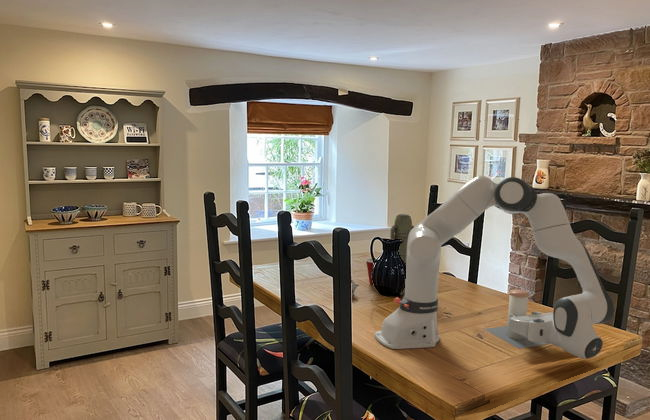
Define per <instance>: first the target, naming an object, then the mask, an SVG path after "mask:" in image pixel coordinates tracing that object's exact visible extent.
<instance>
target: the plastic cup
mask: <svg viewBox="0 0 650 420" xmlns="http://www.w3.org/2000/svg"><path fill="white" fill-rule="evenodd" d="M372 258H373V257H371V258H366V259H365V262H366V267H367V276H368V282H369V285H370V286H373V282H372V278H371V272H372V267H373V260H372Z"/></svg>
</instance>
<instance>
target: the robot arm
mask: <svg viewBox="0 0 650 420" xmlns="http://www.w3.org/2000/svg"><path fill="white" fill-rule="evenodd" d="M491 207H495V208H497V209H499V210H501V211H503V212H504V213H507V214H510V215H520V214H523V215H524V216H526V217H527V219H528V221H529V224H530V228H531V233H532V236H533V239H534V242H535V245H536V246H537V249H538V250H539V251H540V252H541V253H543V254H545V255H546V256H548V257H551V258H556V259H560V260H562V261H564V262H567V263H568V265H570V266H571V267H572V269H573V271H574V273H575V275H576V277H577V279H578V282H579V284H580V286H581V289H582V293H579V294H578V293H577V294H573V295H569V296H564V297H560V298H559V299H557V300H556V301H555V303H554V306H553V310H552V312H551V311H550V312H545V313H544V312H540V311H539V312H538V311H531V312H530V315H529V314H527V316H519V317H516V316H517V315H515V314H510V315H509V319H510V322H509V327H510V329H511V330H513V331H514V332H516V333H518V334H520V335H522V336H524V337H528V340H529V341H532V342H544V343H548V344H547V345H553V346H554V347H558V348H561V349H562V350H563V351H564V352H567V353H568V354H571V355H573V356H575V357H577V358H580V359H585V360H586V359H587V360H589V359H591V358H595V357H596V356H597V355H599V353H600V352H601V351H602V348H603V346H604V341H603V339H602V338H601V337H600V336H599V334H597V332H596V330H595V329H594V327H593V326H594V325H599V324H606V323H608V322H610V321H611V320H612V319H613V317H614V313H615V305H614V301H613V299H612V297H611V296H610V294H609V293H608V291H607V290H606V288H605V286H604V285H603V284H604V283H603V282H602V280H601V277H600V275H599V273H598V270H597V268H596V266H595V263H594V262H593V259H592V257H591V255H590V252H589V251H588V249H587V247H586V246H585V244H584V243H582V242H581V241H580V240H579V239H578V238H577V236H576V235H575V233H574V231H573V229H572V227H571V223H570V220H569V217H568V214H567V211H566V209H565V207H564V205H563V203H562V201H561V200H560V197H559V196H558V195H556V194H555V193H550V192H543V193H538V192H537V191H536V190H535V189H534V188H533V187H531V186H530V185H529V184H528V182H526V181H525V180H524V179H521V178H519V177H515V176H510V177H507V178H504V179H502V180H500V181H499V182H498V183H497V182H495V181H493V179H491V178H490V177H488V176H485V175H478V176H475V177H473V178H472V179H470V180H469V181H468V182H466V183H464V184H463V185H462V186H461V187H459V188H458V189H457V190H456V191H455V192H454V193H453V194H452V195H450V196H448V198H447V199H446V200H444V202H443V203H442V204H440V206H438V207H437V208H436V209H435V210H434V211H432V212H431V213H430V214H428V215H427V216H426V217H425V218H423V219H422V220H421V221H420V222H418V223H417V224H416V225H415V226H414V228H413V229H412V230H411V231H410V233H409V235H408V241H407V258H406V279H405V295H403V297H402V299H401V298H399V297H398V296H397V297H395V298H394V299H393V301H394V303H396V304H397V305H399V307H398V308H396V309H395V310H394V311H392V313H389V315H388V316H387V317H385V318H384V320H383V322H382V326H381V329H380V330H377V331H375V332H374V338H375V339H376V340H377V342H379V343H380V344H381V345H383V346H384V347H387V348H389V349H393V350H401V349H402V350H403V349H423V348H434V347H436V346H437V343H438V342H439V341H440V334H439V330H438V320H437V312H438V309H439V299H438V288H439V287H438V285H439V272H440V263H441V252H442V245H444V244H445V243H447V242H448V241H449V240H451V239H452V238H453V237H455V236H456V235H457V236H458V234H461V232H463V231H464V230H465V229H466V228H467V227H469V226H470V224H472V223H473V222H474V221H475V220H477V218H479V217H480V216H481V215H482V214H483V213H484V212H485V211H486V210H488V209H489V208H491Z"/></svg>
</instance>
